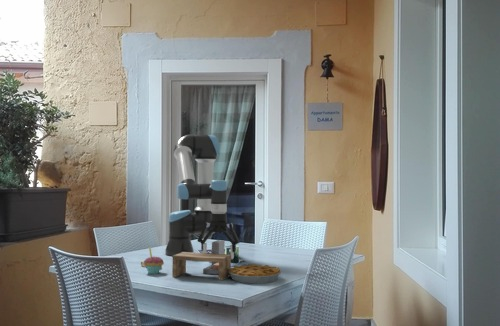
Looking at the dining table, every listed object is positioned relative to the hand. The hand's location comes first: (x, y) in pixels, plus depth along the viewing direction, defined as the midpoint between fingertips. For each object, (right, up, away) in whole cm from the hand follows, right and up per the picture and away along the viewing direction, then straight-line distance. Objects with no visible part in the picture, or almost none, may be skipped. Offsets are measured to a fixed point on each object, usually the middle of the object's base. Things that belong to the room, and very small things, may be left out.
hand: (218, 257), depth 250 cm
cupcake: (-28, -4, -15) cm, 32 cm away
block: (+2, -4, -14) cm, 15 cm away
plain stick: (-31, -4, -2) cm, 32 cm away
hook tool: (+1, -4, -7) cm, 8 cm away
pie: (+17, -5, -26) cm, 31 cm away
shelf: (-6, -4, -22) cm, 23 cm away
